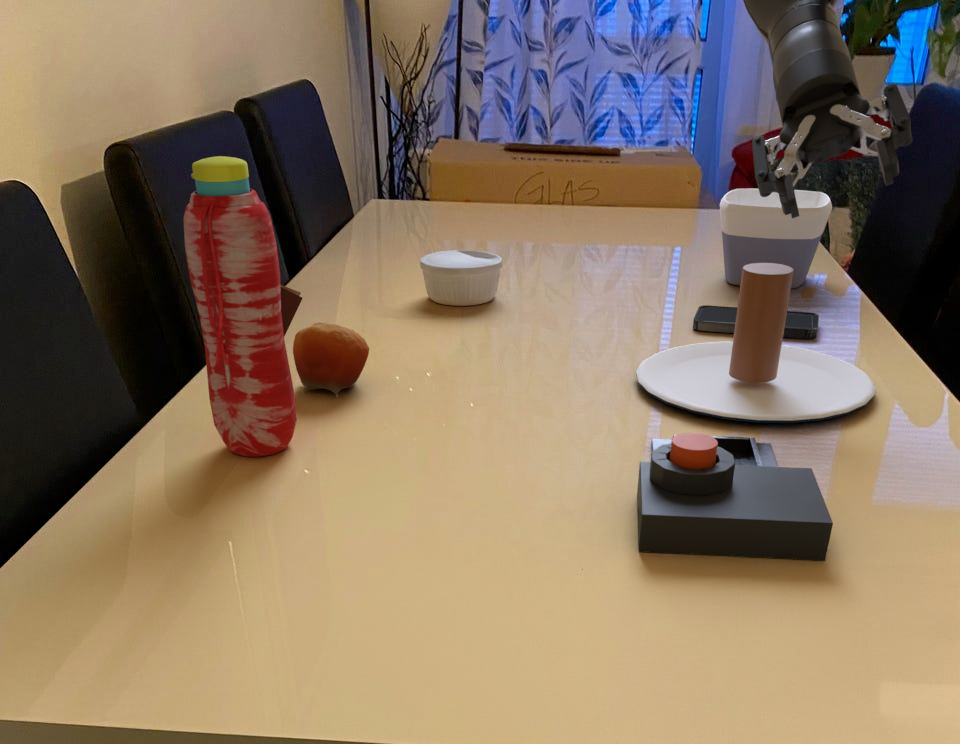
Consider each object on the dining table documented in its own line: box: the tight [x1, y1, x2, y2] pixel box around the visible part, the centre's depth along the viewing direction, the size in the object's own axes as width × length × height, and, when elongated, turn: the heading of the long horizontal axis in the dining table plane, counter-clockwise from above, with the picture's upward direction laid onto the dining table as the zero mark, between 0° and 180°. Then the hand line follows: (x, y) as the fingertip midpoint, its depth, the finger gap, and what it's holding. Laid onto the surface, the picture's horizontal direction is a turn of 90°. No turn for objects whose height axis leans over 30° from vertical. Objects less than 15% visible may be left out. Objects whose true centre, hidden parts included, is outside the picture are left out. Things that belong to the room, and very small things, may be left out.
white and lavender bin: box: [719, 187, 833, 290], centre depth 142 cm, size 15×15×11 cm
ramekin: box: [419, 249, 504, 307], centre depth 136 cm, size 11×11×5 cm
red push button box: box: [636, 443, 834, 562], centre depth 78 cm, size 10×14×5 cm
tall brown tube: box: [729, 263, 794, 383], centre depth 103 cm, size 5×5×11 cm
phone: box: [692, 304, 820, 340], centre depth 125 cm, size 8×1×15 cm
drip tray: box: [650, 434, 779, 467], centre depth 88 cm, size 11×11×2 cm
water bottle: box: [183, 155, 303, 458], centre depth 88 cm, size 12×8×25 cm, turn 161°
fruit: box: [292, 322, 370, 399], centre depth 106 cm, size 8×8×8 cm
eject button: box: [670, 432, 718, 469], centre depth 78 cm, size 4×4×2 cm
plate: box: [635, 340, 876, 424], centre depth 106 cm, size 25×25×1 cm
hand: (841, 194), depth 93 cm, fingers open, 8 cm apart
